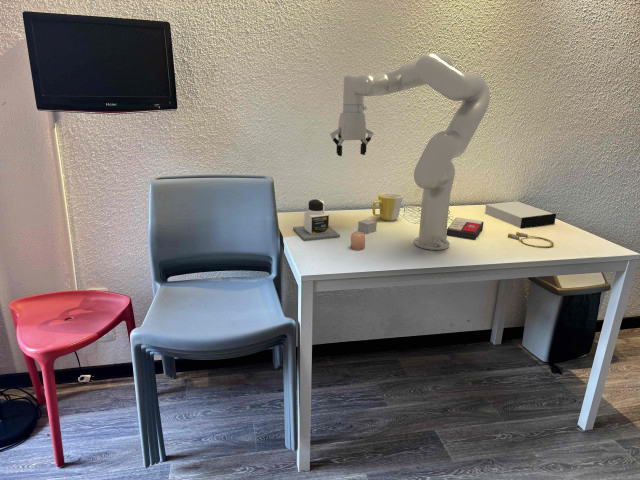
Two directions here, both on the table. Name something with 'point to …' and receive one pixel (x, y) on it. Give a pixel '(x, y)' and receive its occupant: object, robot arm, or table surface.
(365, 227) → the grey plastic block
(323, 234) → the slate mat
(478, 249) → the table surface
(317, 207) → the medicine bottle
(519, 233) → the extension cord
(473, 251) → the table surface
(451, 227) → the red and grey box
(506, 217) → the disc drive
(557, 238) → the table surface
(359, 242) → the terracotta cylinder
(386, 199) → the mug
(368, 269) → the table surface
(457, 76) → the robot arm
